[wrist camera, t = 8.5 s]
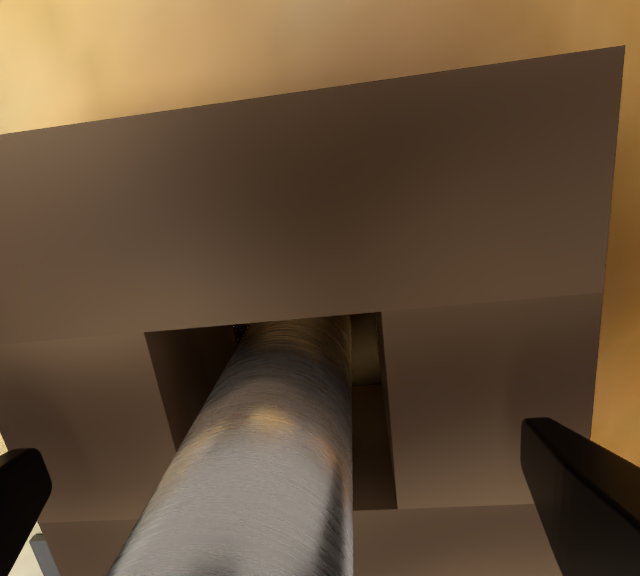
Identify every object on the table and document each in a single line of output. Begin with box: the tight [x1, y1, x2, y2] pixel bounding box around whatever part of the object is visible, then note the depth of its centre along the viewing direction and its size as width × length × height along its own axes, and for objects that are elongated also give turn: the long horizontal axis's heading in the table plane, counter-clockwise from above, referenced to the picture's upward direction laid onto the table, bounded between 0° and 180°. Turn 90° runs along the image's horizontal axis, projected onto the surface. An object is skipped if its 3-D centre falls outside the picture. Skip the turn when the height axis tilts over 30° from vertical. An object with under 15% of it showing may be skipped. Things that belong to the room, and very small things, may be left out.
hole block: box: [0, 45, 625, 576], centre depth 11 cm, size 12×12×5 cm
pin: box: [106, 314, 353, 576], centre depth 8 cm, size 3×3×10 cm
